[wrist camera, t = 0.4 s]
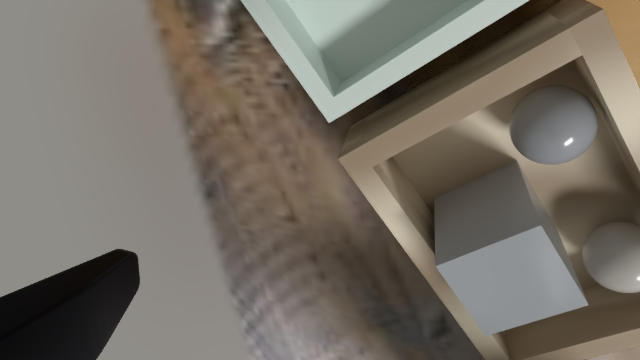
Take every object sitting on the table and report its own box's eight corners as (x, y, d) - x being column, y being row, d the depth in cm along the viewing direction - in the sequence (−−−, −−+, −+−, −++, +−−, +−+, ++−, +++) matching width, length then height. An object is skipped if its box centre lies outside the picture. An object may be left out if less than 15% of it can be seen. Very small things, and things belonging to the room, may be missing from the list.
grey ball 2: (659, 247, 20) (692, 294, 18) (589, 270, 22) (610, 317, 19) (634, 197, 19) (665, 238, 17) (562, 224, 21) (581, 266, 18)
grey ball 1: (596, 122, 18) (624, 155, 16) (523, 157, 20) (537, 191, 17) (565, 60, 17) (588, 84, 15) (490, 100, 19) (500, 128, 16)
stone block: (556, 227, 21) (588, 304, 17) (474, 258, 23) (485, 336, 18) (516, 160, 20) (540, 224, 15) (434, 198, 21) (435, 266, 17)
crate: (700, 262, 21) (745, 319, 18) (491, 326, 25) (500, 380, 22) (572, -7, 17) (603, 8, 14) (350, 125, 21) (337, 158, 18)
